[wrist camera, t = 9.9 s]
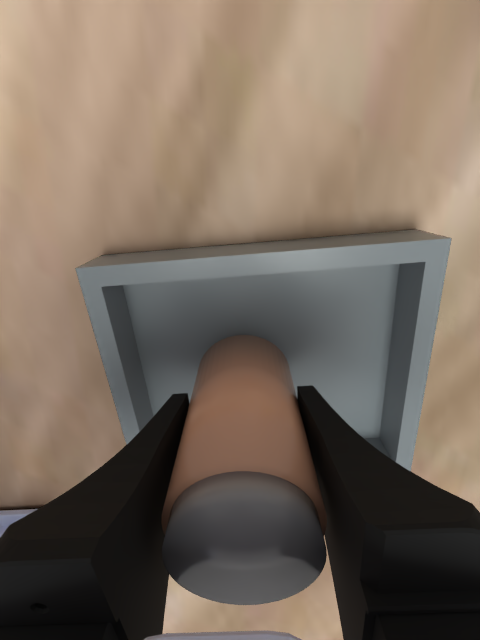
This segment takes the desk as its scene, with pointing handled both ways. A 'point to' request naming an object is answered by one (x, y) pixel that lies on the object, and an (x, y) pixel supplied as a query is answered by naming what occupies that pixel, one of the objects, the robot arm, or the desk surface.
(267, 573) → the shaker
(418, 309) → the tray
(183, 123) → the desk surface
